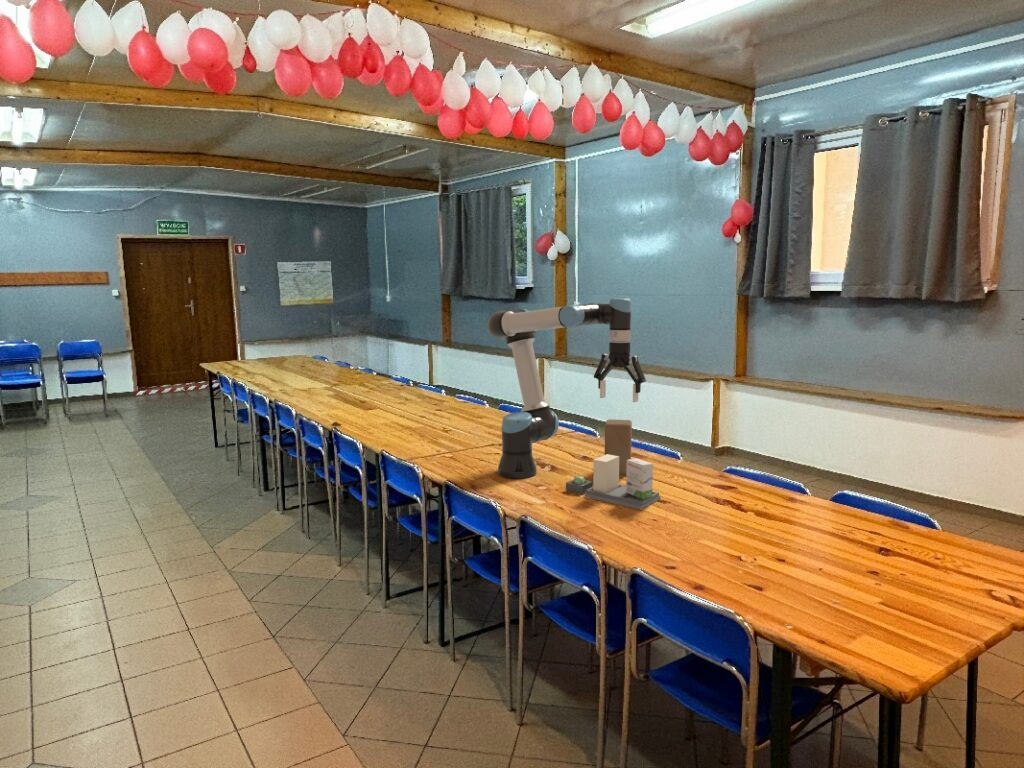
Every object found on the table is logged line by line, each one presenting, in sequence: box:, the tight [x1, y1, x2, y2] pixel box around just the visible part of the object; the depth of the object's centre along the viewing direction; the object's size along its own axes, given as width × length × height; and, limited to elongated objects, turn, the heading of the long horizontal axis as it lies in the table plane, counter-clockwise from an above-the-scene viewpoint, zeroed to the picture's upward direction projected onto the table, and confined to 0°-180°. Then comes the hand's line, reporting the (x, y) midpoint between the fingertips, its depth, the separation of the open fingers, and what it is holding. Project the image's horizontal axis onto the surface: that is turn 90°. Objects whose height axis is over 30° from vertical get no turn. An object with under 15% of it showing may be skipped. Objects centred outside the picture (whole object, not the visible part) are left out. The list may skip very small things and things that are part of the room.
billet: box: [592, 454, 620, 493], centre depth 237 cm, size 5×9×12 cm, turn 141°
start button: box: [573, 475, 585, 485], centre depth 243 cm, size 4×4×4 cm
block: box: [604, 418, 633, 476], centre depth 264 cm, size 10×10×20 cm
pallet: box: [584, 483, 661, 511], centre depth 234 cm, size 22×14×2 cm, turn 51°
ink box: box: [625, 458, 654, 499], centre depth 229 cm, size 8×5×12 cm, turn 31°
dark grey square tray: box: [565, 479, 593, 495], centre depth 243 cm, size 7×7×3 cm
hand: (618, 399), depth 245 cm, fingers open, 13 cm apart
